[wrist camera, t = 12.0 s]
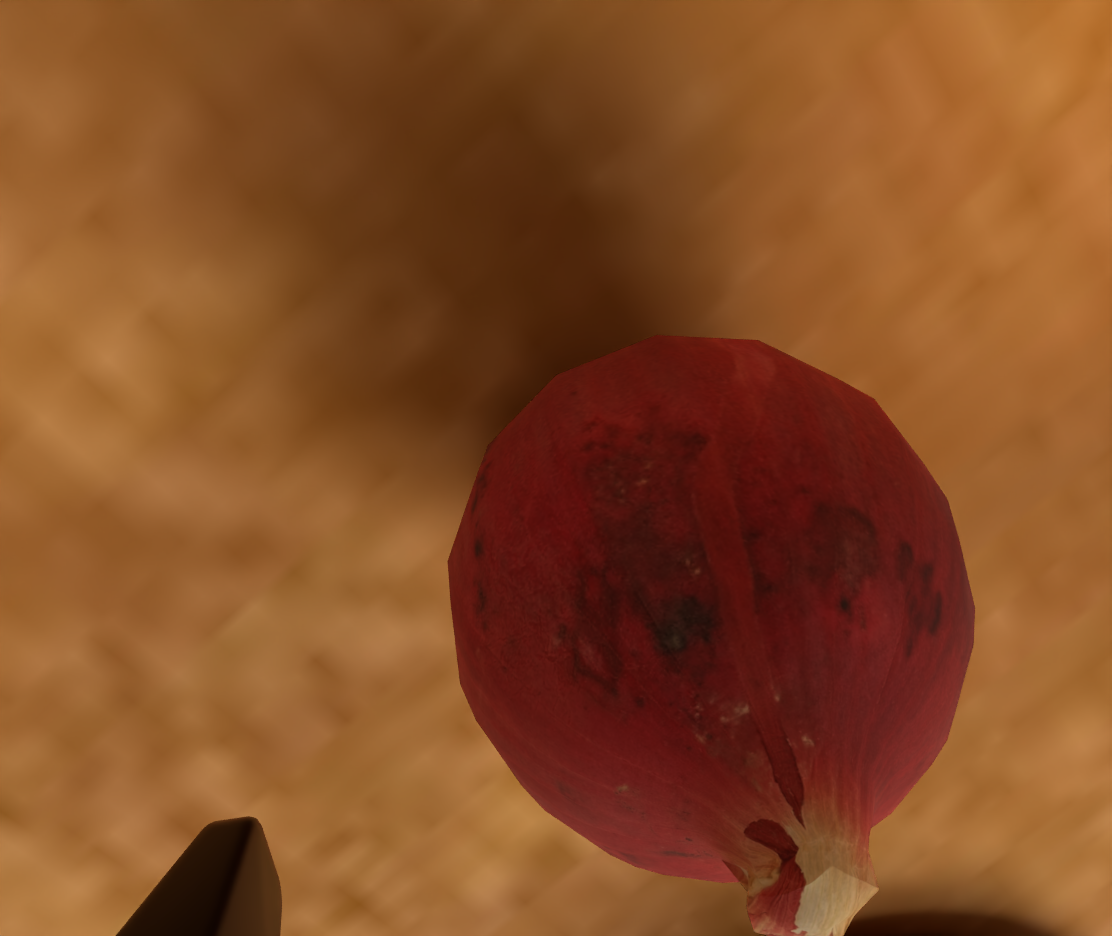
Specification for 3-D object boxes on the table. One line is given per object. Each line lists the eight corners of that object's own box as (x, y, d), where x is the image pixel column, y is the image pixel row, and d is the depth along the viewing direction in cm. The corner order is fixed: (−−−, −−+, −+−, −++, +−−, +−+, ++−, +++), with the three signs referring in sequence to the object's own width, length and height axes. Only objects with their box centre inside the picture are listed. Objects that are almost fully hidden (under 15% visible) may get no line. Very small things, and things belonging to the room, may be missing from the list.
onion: (376, 363, 14) (308, 786, 7) (766, 192, 13) (1143, 453, 6) (539, 663, 16) (615, 1197, 9) (869, 531, 16) (1218, 987, 9)
